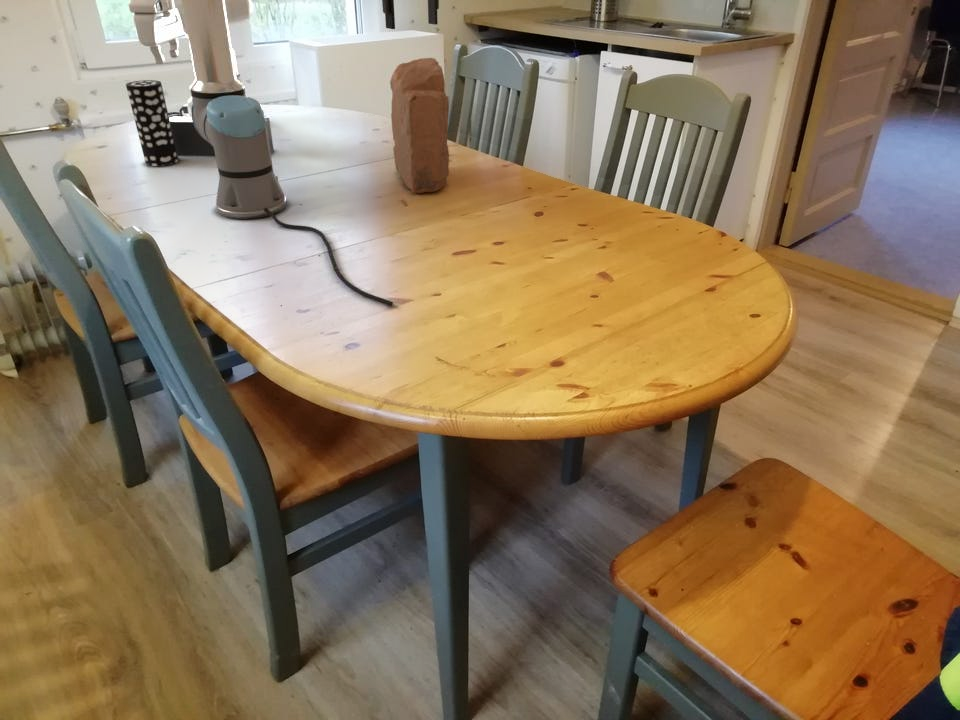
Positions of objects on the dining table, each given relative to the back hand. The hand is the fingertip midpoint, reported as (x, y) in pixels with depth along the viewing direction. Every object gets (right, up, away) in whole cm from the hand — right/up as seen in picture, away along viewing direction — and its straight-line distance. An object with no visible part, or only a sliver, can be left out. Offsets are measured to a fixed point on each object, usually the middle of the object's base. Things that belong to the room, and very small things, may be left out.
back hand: (168, 60), depth 181 cm
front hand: (+65, +4, -9) cm, 66 cm away
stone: (+68, -33, -5) cm, 75 cm away
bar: (+10, -20, +13) cm, 26 cm away
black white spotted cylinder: (-4, -17, 0) cm, 17 cm away
